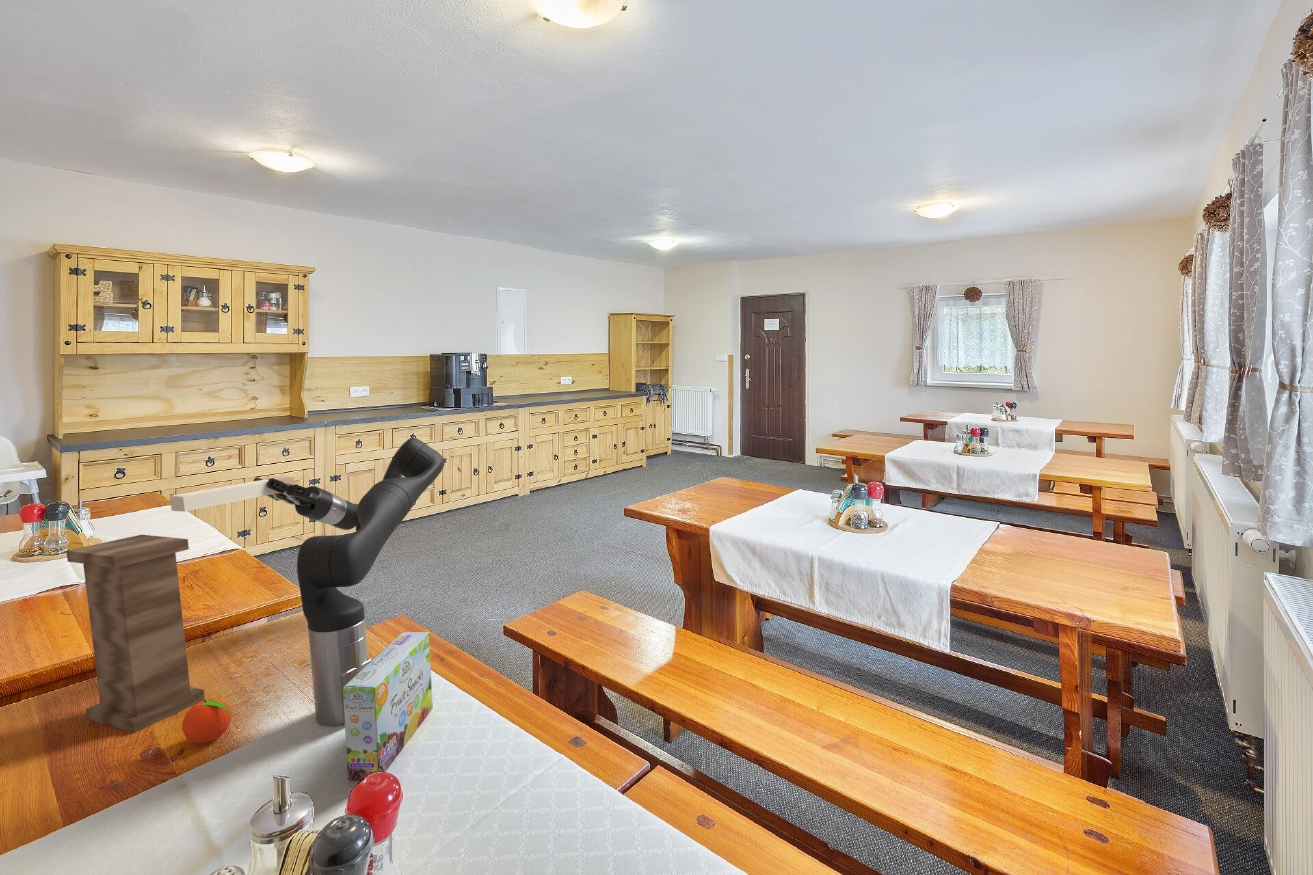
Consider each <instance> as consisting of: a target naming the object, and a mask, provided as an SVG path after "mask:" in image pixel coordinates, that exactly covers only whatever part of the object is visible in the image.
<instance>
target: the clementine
mask: <svg viewBox="0 0 1313 875" xmlns="http://www.w3.org/2000/svg"><path fill="white" fill-rule="evenodd" d="M232 715H233V714H232V710H231V708H230V707H229V705H228V704H227V702H225V701H223V700H220V699H216V698H208V699H204V700H202V701H200V702H198V703H196V704H194V705H192V706H191V708H189V710H187V712H186V714H185V715H184V716H183V720H182V723H181V730H182V732H183V733H182V734H183V735H184V736H185V738H186V739H187V740H189V741H191V742H192V743H196V744H206V743H210V742H213V741H215V740H217V739H219V738H220V737H221V736H222V735H223V734H225V732H226V731H227V730H228V728H229V727H230V725H231V723H232Z"/></svg>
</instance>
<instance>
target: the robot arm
mask: <svg viewBox="0 0 1313 875" xmlns="http://www.w3.org/2000/svg"><path fill="white" fill-rule="evenodd" d="M445 462H446V461H445V458H444V457H443V455H442V454H440V452H438V451H437V450H435V449H433V447H431V446H430V445H428V444H426V443H425V442H424V441H422V440H421V439H419V438H417V437H411V438H408V439H407V440H406V441H405V442H403V443H402V445H401V446H400V447H399V448H398V449H397V450H396V452H395V453H394V455H393V457H392V458H391V460H390V462H389V464H388V467H387V469H386V471H385V473H384V476H383V478H382V480H380V481H378V482H376V483H375V484H373V485H372V487H371V488H370V489H369V490H367V492H366V493H365V494H364V495H363V497H361V499H360V500H359V502H358V503H352V502H350V501H348V500H346V499H344V498H342V497H341V496H338V495H337V494H334V493H333V492H330V491H328V490H326V489H323V488H320V487H318V486H316V485H311V486H306V487H305V486H303V485H299V484H297V483H296V484H294V485H291V484H290V483H283V482H281V481H279V480H276V479H274V477H269V478H270V479H269V480H268V483H267V485H266V486H267V488H270V489H273V490H275V491H278V492H282V491H283V492H282V493H276V494H271V495H266V497H269V498H271V499H273V500H275V501H283V502H285V503H286V504H288V505H291V506H293V505H294V509H295V511H296V513H297V515H300V516H302V517H305V518H307V519H310V520H313V521H315V522H318V523H321V524H325V525H330V526H332V527H335V528H337V529H341V530H345V531H349V530H352V529H354V528H355V532H353V533H350V534H342V535H341V534H340V535H338V534H337V535H336V534H334V535H314V536H309V537H308V538H307V539H305V540H304V541H303V543H301V546H300V547H299V550H298V553H297V559H296V560H297V561H296V572H297V582H298V588H299V593H300V598H301V606H302V612H303V615H304V618H305V620H306V622H307V630H308V642H309V654H310V667H311V677H312V678H311V679H312V691H313V700H314V710H315V721H316V720H317V721H316V722H317V723H318V724H319V723H320V724H319V725H322V726H330V727H331V726H340V725H345V716H344V699H343V687H344V686H345V685H346V684H347V683H348V682H350V681H351V680H352V679H353V678H354V677H355V676H356V675H357V674H358V673H359V672H360V671H361V670H363V669H364V668H365V667H366V666H367V665H368V664H369V663H370V662H371V661H372V660H373V659H371V658H369V657H368V646H367V645H368V644H367V643H368V642H367V631H366V629H367V628H366V620H365V618H366V616H365V607H364V604H363V602H361V601H360V600H359V599H356V598H354V597H351V596H350V595H346V594H345V593H343V592H341V591H340V590H339V589H338V588H349V587H352V586H356V585H358V584H360V583H361V582H362V581H363V580H364V579H365V577H366V576H367V575H368V574H369V572H370V570H371V569H372V566H373V565H374V563H375V562H376V560H377V558H378V556H379V555H380V552H381V551H382V550H383V547H384V546H385V544H386V542H387V541H388V540H389V538H390V537H391V536H392V534H393V532H395V530H396V528H397V527H398V526H400V524H401V523H402V522H403V521H404V519H405V518H406V517H407V515H408V514H409V512H410V511H411V509H412V508H413V506H415V503H417V501H418V499H419V498H420V497H421V495H422V494H423V493H424V492H425V491H426V490H427V489H428V488H429V487H430V485H432V483H433V482H434V481H435V480H436V479H437V478H438V477H439V475H440V474H441V473H442V471H443V469H444V467H445ZM402 476H403V477H402ZM259 480H264V479H263V478H260V477H254V479H253V481H259Z"/></svg>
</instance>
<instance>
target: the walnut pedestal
mask: <svg viewBox="0 0 1313 875" xmlns="http://www.w3.org/2000/svg"><path fill="white" fill-rule="evenodd" d="M187 550H190V547H189V539H188V538H181V537H180V538H179V537H170V536H162V535H161V536H160V535H151V534H150V535H149V534H138V535H134V536H129V537H124V538H121V539H115V540H110V541H106V542H101V543H97V544H92V545H87V546H83V547H78V548H73V549H68V550H66V551H65V552H66V559H67V562H69V563H76V564H82V566H83V573H84V574H83V575H84V582H85V591H86V598H87V605H88V606H87V607H88V613H89V622H90V629H91V630H90V631H91V632H90V633H91V638H92V646H93V647H92V648H93V657H94V662H95V670H96V671H95V673H96V680H97V687H98V688H97V689H98V696H99V703H97V704H95V705H93V706H90V707H87V708H86V709H85V711H86V718H87V720H89V721H92V722H96V723H99V724H103V725H106V726H109V727H112V728H113V727H114V728H117V729H120V730H123V731H127V732H131V733H137V732H138V731H141V730H143V729H146V728H147V727H149V726H152V725H154V724H157V722H160V721H162V720H164V719H166V718H168V717H171V716H173V715H175V714H178V712H181V711H182V710H185V709H187V708H189V707H193V706H194V705H196V704H197V703H199V702H201V701H204V700H206V699H205V697H206V696H205V690H204V689H203V688H198V687H194V686H191V685H190V676H189V675H190V674H189V664H188V659H187V657H188V656H187V647H186V638H185V630H184V619H183V611H182V600H181V593H180V592H181V591H180V583H179V573H178V564H177V555H176V554H177V553H180V552H184V551H187Z"/></svg>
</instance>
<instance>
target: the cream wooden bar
mask: <svg viewBox="0 0 1313 875" xmlns="http://www.w3.org/2000/svg"><path fill="white" fill-rule="evenodd" d="M270 478H271V477H269V478H265V479H263V480H259V481H254V480H252V481H249V482H242V483H238V484H231V485H225V486H220V487H214V488H207V489H201V490H197V491H196V490H195V491H190V492H186V493H179V494H174V495H173V494H172V495H170V496H169V500H170V507H171V511H172V512H183V513H185V512H190V511H197V510H200V509H204V508H210V507H215V506H221V505H226V504H231V503H234V502H235V503H236V502H240V501H247V500H252V499H255V498H260V497H261V498H262V497H265V496H266V495H271V494H276V493H282V492H283V491H282V492H278V491H275V490H273V489H270V488H267V486H266V485H267V483H268V480H269V479H270ZM273 478H274V479H276V480H279V481H281V482H283V483H290V484H291V485H294V484H295V476H289V475H287V476H286V475H285V476H283V475H280V476H274V477H273ZM266 497H267V496H266Z"/></svg>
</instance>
